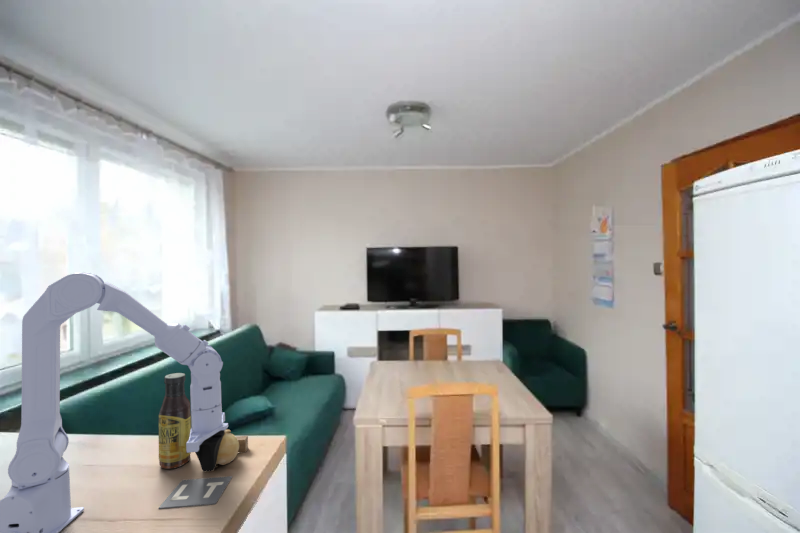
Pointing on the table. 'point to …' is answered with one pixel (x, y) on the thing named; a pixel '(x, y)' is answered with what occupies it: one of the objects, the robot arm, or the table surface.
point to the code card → (196, 492)
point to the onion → (227, 448)
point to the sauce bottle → (174, 423)
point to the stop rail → (242, 443)
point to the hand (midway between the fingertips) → (208, 469)
